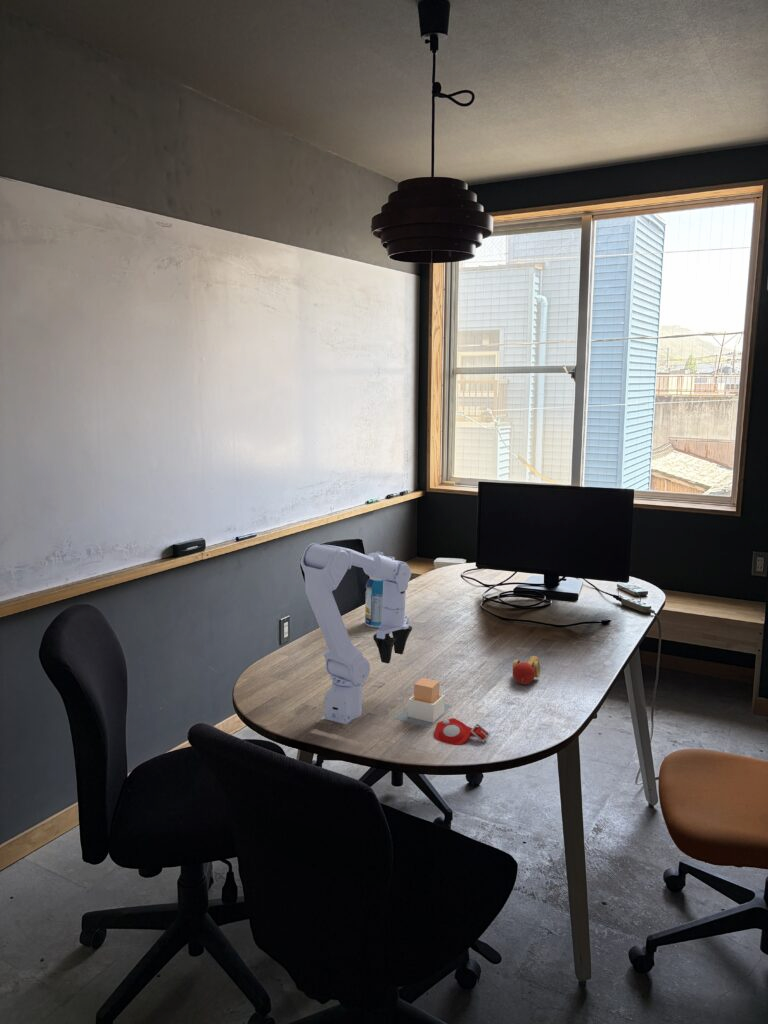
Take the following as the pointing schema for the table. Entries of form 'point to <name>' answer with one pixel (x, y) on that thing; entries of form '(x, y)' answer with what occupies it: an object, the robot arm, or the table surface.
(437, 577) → the table surface
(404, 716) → the baseplate
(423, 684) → the orange block
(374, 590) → the beverage bottle
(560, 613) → the table surface
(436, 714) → the cream base block
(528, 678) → the kendama
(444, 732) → the tracker holder
